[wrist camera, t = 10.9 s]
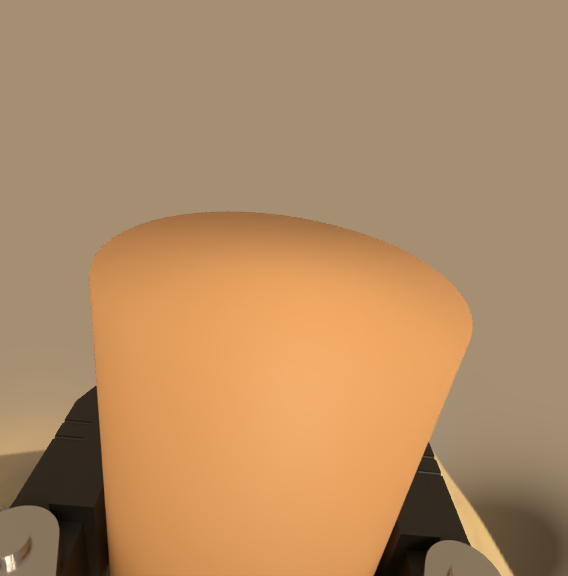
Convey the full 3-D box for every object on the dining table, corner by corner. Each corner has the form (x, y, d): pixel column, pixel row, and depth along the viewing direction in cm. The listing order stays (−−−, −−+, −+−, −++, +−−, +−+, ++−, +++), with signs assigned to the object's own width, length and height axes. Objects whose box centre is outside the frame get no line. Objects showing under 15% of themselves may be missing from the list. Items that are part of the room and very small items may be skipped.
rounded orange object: (86, 823, 9) (-11, 356, 3) (151, 571, 13) (152, 197, 8) (321, 829, 9) (563, 416, 4) (307, 582, 14) (410, 232, 8)
